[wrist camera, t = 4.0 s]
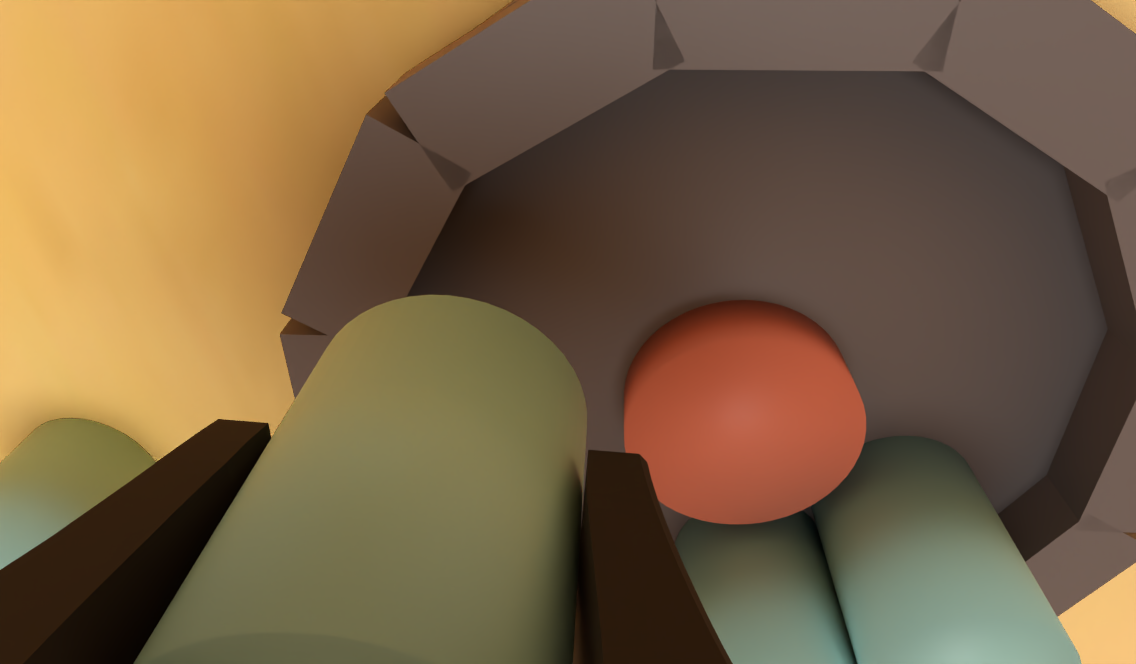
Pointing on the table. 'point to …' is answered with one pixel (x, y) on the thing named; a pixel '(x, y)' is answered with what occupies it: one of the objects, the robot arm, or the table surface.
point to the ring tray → (784, 242)
